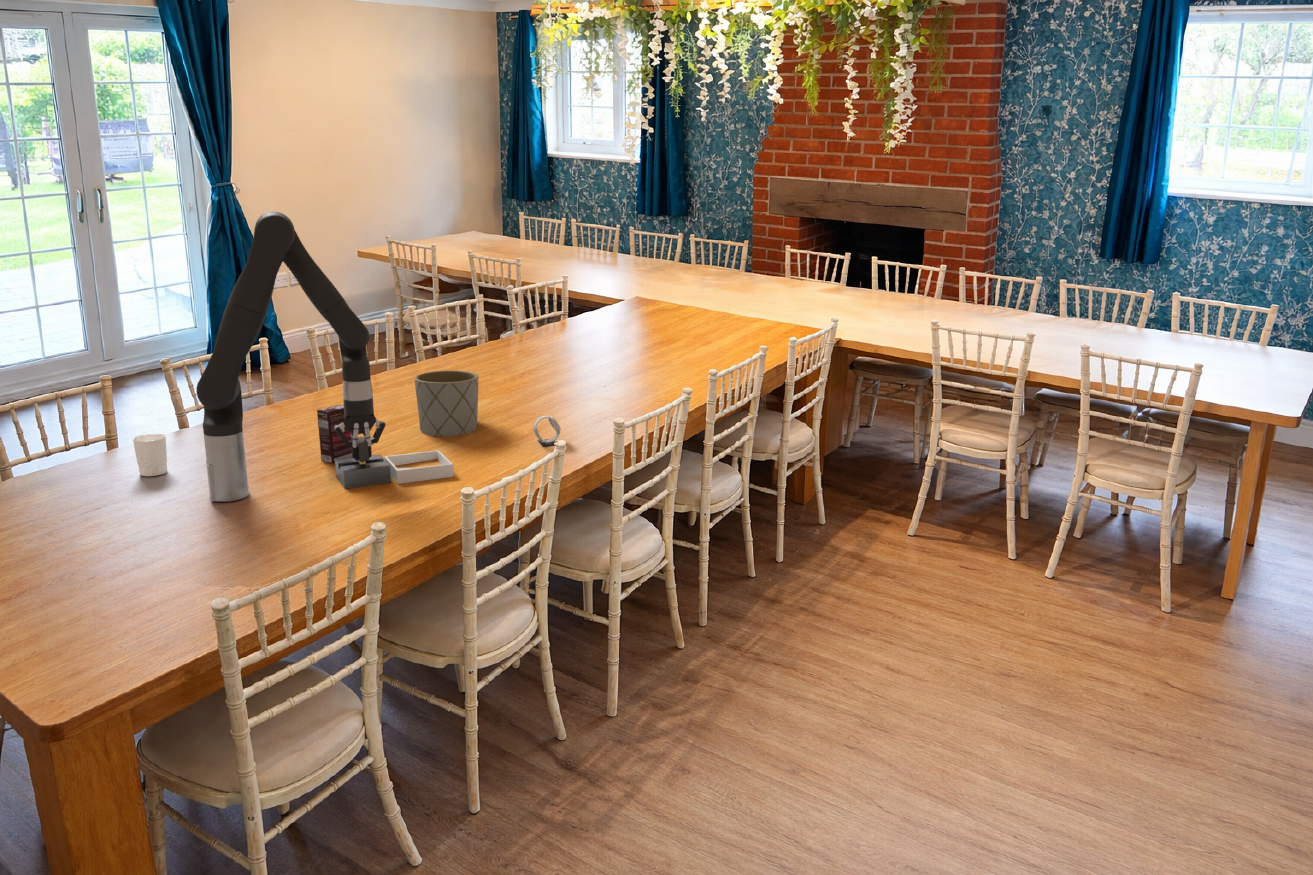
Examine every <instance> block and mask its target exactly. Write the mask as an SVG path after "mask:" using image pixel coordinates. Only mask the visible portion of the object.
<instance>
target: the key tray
mask: <svg viewBox="0 0 1313 875" xmlns="http://www.w3.org/2000/svg"><path fill="white" fill-rule="evenodd" d="M383 458H384V461H386V462H387V463H388V464H389V465H390V475H391V479H393V480H394V481H395V483H396V484H398V485H399V484H407V483H415V482H422V481H432V480H438V479H446V478H447V479H448V478H453V477H454V476H455V475H454V463H453V462H452V461H451V460H449V459H448V458H447V457H446V455H443V453H442V452H441V451H440V450H430V451H429V450H428V451H419V452H410V453H404V454H403V453H402V454H394V455H393V454H391V455H385V456H383ZM431 460H437V461H438V462H439V463H440V464H439V465H438V464H437V465H429V466H420V467H396V466H402V465H406V464H407V465H408V464H412V463H413V464H414V463H419V462H425V461H431Z"/></svg>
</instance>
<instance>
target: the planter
mask: <svg viewBox="0 0 1313 875" xmlns="http://www.w3.org/2000/svg"><path fill="white" fill-rule="evenodd" d="M414 386H415V395H416V396H415V398H416V406H417V411H418V420H419V421H418V422H419V429H420V432H421V433H422V434H424V435H428V436H429V437H430V436H431V437H440V438H451V437H458V436H459V437H460V436H464V435H467V434H469V433H471V432H474V431H475V430H476V429H477V427H478V410H479V409H478V408H479V375H478V373H475V372H472V371H465V370H450V369H449V370H435V371H428V372H427V371H426V372H422V373H419V374H417V375H416V376H414Z"/></svg>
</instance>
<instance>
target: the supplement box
mask: <svg viewBox="0 0 1313 875" xmlns="http://www.w3.org/2000/svg"><path fill="white" fill-rule="evenodd" d="M316 413H317V414H316V415H317V423H318V424H317V426H318V427H317V428H318V436H319V450H320V459H321V462H324V463H327V464H328V463H329V464H332V465H335V459H343V458H351V457H352V450H351V447H350V446H346V445H345V444H344V442H343V441H342V439H341V438H340V436H339V435H338V433H337V432H336V430H335V429H334V426H335V425H339V424H341V423H343V419H344V404H340V403H339V404H337V405H331V406H328V407H323V408H320V409H317V410H316ZM344 430H345V431H344V432H343V433H344V435H345V436H346V438H347V439H348V440H349V441H351V432H350V431H349V430H348V428H347V427H346V426H345V427H344Z"/></svg>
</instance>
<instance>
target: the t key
mask: <svg viewBox="0 0 1313 875" xmlns="http://www.w3.org/2000/svg"><path fill="white" fill-rule="evenodd" d="M357 448H358V460H359V464H366V462H365V461H366V460H369V452H368V442H367V440H366V439H365V438H364V436H358V440H357Z"/></svg>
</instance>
